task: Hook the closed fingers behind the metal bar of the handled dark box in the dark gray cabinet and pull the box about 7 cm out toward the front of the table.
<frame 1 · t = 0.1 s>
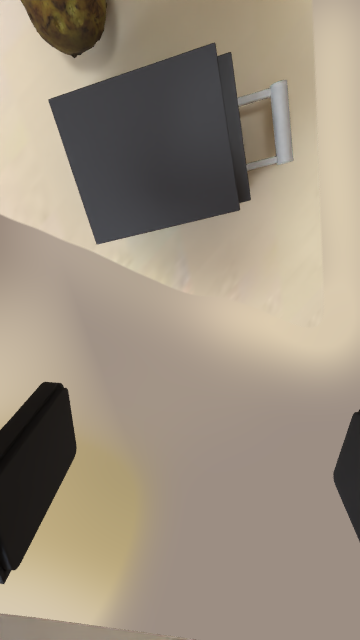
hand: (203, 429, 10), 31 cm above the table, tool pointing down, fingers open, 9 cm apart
handled dark box: (194, 150, 30), point 5 cm above the table, slide at 0.0 cm
dark gray cabinet: (162, 165, 35), on the table
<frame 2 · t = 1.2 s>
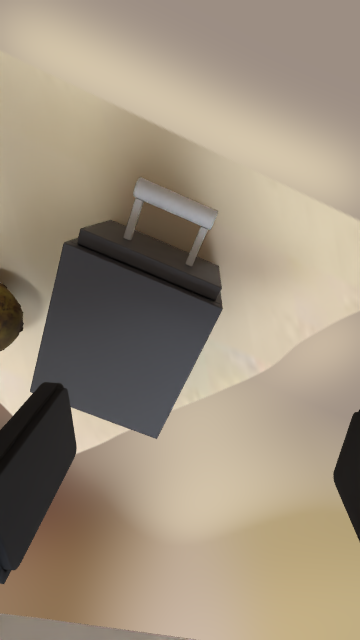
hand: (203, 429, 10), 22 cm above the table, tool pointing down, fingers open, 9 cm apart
handled dark box: (143, 294, 27), point 5 cm above the table, slide at 0.0 cm
dark gray cabinet: (139, 313, 33), on the table
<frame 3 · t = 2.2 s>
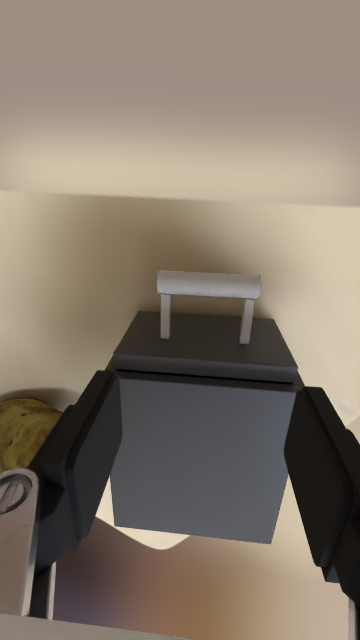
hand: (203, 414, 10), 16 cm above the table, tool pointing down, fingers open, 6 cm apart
handled dark box: (201, 383, 23), point 5 cm above the table, slide at 0.0 cm
potato: (44, 413, 32), on the table
dark gray cabinet: (199, 391, 29), on the table
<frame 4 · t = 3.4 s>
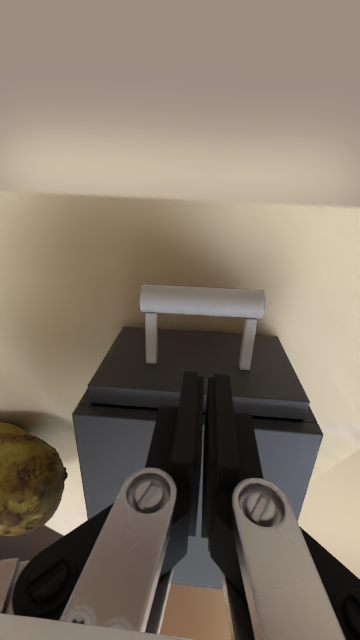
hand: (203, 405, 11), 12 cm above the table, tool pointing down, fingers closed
handled dark box: (194, 412, 20), point 5 cm above the table, slide at 0.0 cm
potato: (21, 437, 29), on the table
dark gray cabinet: (193, 413, 26), on the table
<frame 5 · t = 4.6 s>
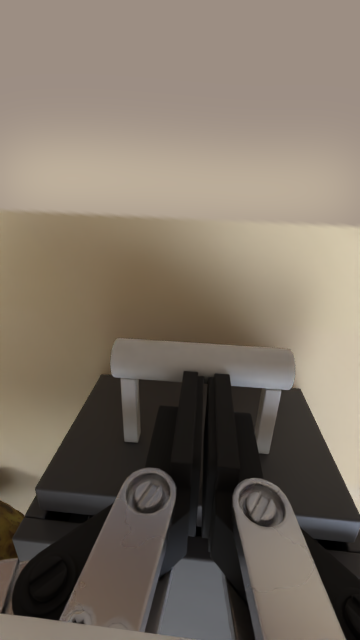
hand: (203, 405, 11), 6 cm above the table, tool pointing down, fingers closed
handled dark box: (192, 492, 15), point 5 cm above the table, slide at 0.2 cm, touching gripper
dark gray cabinet: (192, 474, 21), on the table
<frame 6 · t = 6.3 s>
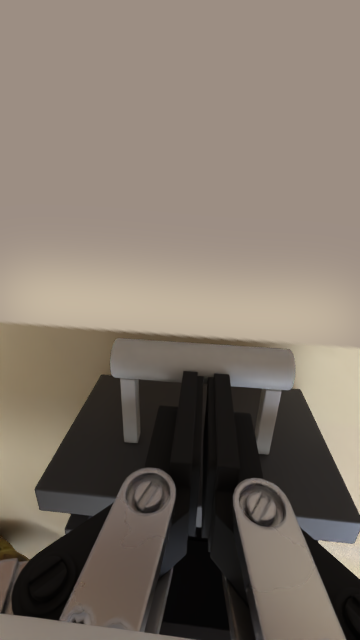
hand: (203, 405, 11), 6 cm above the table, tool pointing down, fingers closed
handled dark box: (192, 493, 15), point 5 cm above the table, slide at 6.5 cm, touching gripper
potato: (3, 541, 27), on the table
dark gray cabinet: (189, 530, 24), on the table
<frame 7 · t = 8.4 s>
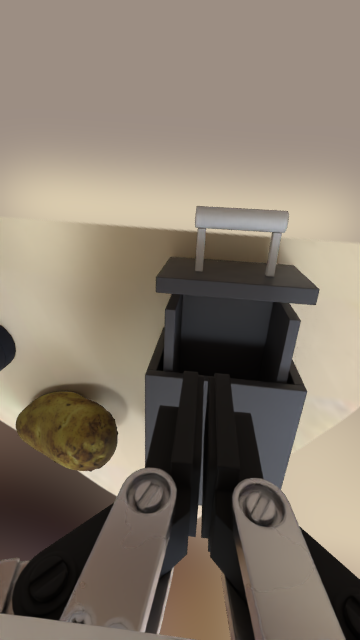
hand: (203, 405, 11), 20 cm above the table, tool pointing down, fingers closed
handled dark box: (227, 319, 26), point 5 cm above the table, slide at 6.6 cm
potato: (80, 404, 38), on the table
dark gray cabinet: (215, 388, 34), on the table
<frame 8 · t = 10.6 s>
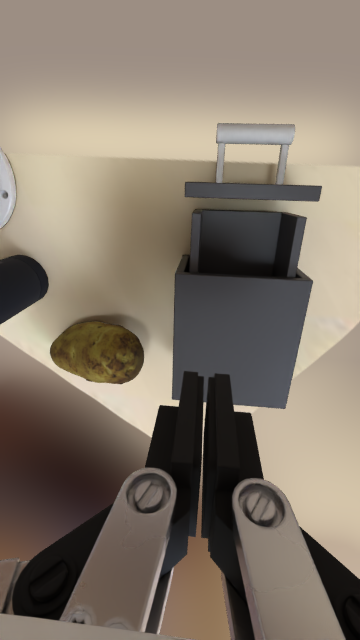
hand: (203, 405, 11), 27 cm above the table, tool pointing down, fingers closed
pepper grinder: (26, 278, 39), on the table
handled dark box: (242, 232, 30), point 5 cm above the table, slide at 6.6 cm
potato: (106, 337, 42), on the table
dark gray cabinet: (229, 313, 38), on the table
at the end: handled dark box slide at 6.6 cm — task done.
